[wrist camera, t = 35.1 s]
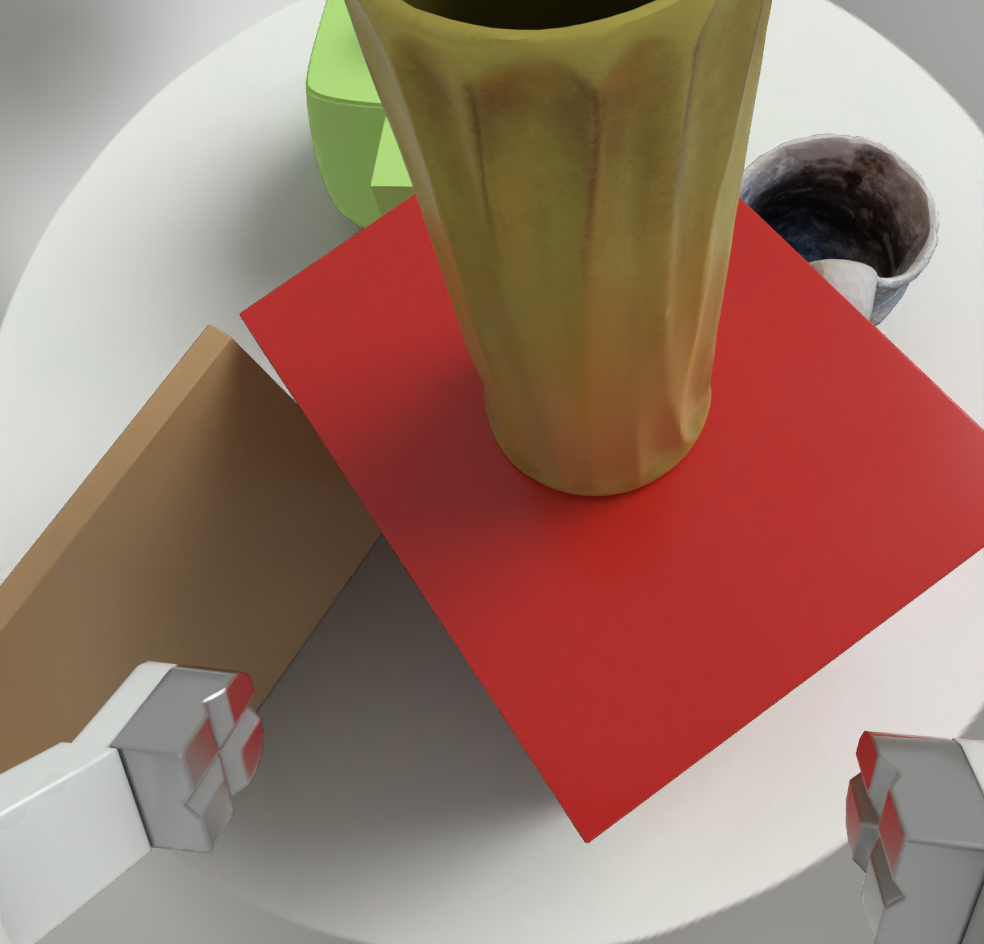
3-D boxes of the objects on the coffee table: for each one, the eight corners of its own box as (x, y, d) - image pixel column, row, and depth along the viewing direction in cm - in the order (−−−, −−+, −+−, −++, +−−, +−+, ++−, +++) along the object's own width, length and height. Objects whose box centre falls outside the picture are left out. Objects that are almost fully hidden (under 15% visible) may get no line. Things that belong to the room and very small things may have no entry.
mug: (877, 210, 44) (944, 69, 35) (920, 419, 40) (1010, 323, 31) (699, 230, 46) (718, 99, 36) (724, 434, 42) (753, 347, 32)
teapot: (668, 43, 50) (681, -180, 38) (631, 327, 44) (633, 171, 32) (390, 43, 54) (321, -161, 42) (323, 304, 48) (220, 158, 36)
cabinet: (606, 789, 37) (586, 844, 18) (405, 495, 43) (237, 313, 25) (842, 613, 38) (1053, 495, 19) (612, 349, 44) (601, 64, 25)
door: (108, 726, 42) (-301, 718, 23) (312, 450, 45) (94, 251, 27) (193, 801, 40) (-179, 858, 21) (400, 507, 43) (231, 336, 25)
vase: (656, 264, 23) (700, -398, 10) (749, 449, 21) (972, -68, 7) (458, 341, 23) (230, -201, 10) (530, 532, 21) (363, 174, 8)
